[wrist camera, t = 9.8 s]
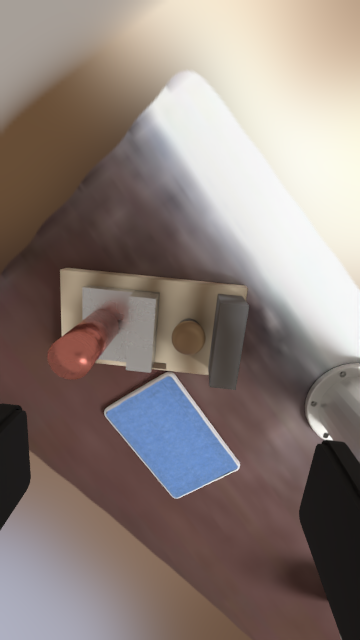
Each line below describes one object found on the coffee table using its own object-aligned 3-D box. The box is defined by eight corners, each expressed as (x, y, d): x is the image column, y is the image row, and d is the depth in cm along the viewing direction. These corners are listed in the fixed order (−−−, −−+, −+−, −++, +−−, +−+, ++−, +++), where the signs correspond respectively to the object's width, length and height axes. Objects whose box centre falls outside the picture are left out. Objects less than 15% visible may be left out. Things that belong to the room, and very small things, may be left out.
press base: (245, 285, 38) (255, 297, 31) (231, 370, 42) (238, 397, 35) (66, 267, 39) (39, 275, 32) (68, 353, 42) (44, 376, 35)
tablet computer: (241, 463, 47) (243, 469, 45) (174, 495, 49) (174, 503, 48) (171, 366, 43) (171, 371, 41) (102, 407, 45) (99, 413, 44)
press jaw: (159, 292, 37) (143, 319, 26) (155, 359, 39) (138, 410, 28) (87, 284, 37) (39, 308, 26) (86, 352, 39) (44, 400, 28)
